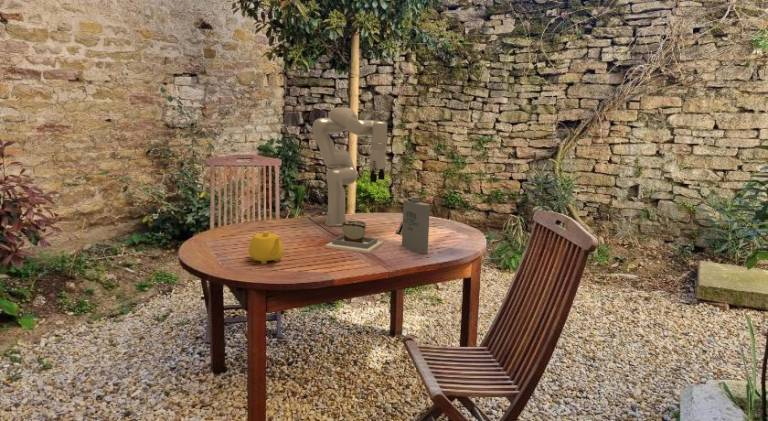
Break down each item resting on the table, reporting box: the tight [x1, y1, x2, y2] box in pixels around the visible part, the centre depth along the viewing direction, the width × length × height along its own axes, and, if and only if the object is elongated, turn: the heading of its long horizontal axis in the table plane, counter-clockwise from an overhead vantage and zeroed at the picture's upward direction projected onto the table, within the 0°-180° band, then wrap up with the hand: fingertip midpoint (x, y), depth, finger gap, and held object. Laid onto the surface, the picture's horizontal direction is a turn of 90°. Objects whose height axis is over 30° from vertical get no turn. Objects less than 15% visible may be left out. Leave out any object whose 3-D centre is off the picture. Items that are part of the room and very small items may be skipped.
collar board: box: [324, 234, 384, 254], centre depth 237 cm, size 22×18×3 cm
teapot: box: [247, 230, 285, 265], centre depth 209 cm, size 13×20×12 cm
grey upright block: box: [401, 195, 431, 255], centre depth 232 cm, size 17×5×25 cm, turn 33°
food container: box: [341, 220, 367, 243], centre depth 238 cm, size 12×6×10 cm, turn 70°
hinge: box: [395, 219, 403, 236], centre depth 266 cm, size 17×5×10 cm, turn 131°
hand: (377, 180), depth 253 cm, fingers open, 9 cm apart
